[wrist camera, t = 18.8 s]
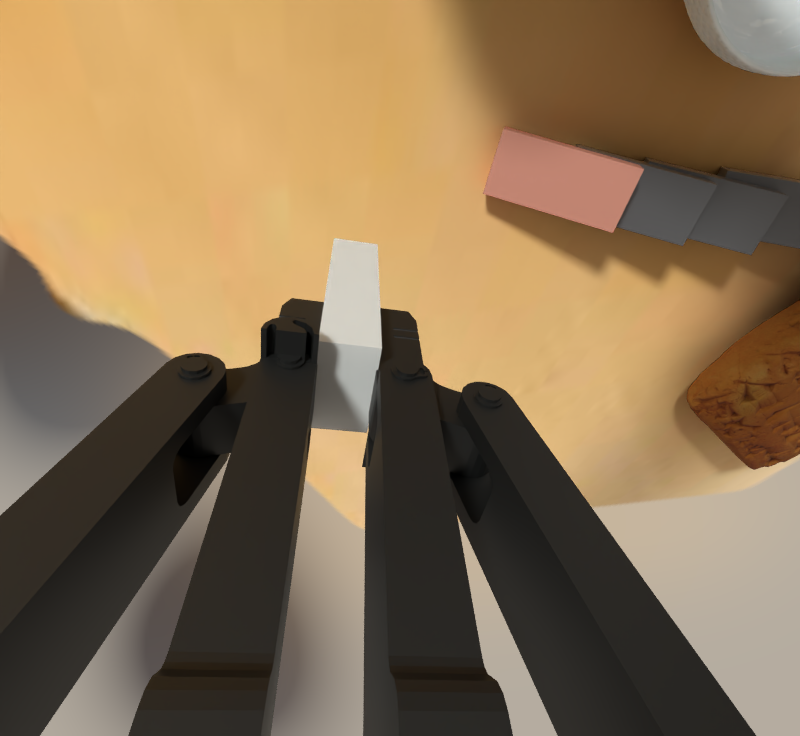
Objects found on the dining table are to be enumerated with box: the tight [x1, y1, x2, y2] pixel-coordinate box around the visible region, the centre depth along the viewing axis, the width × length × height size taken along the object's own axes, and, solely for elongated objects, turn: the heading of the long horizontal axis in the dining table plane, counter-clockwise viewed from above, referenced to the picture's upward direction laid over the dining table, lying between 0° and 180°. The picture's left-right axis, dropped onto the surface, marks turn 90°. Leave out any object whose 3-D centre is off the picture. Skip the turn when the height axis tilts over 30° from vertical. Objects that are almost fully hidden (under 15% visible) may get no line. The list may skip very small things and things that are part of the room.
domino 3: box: [644, 158, 789, 255], centre depth 41 cm, size 5×2×11 cm
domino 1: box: [483, 126, 644, 233], centre depth 39 cm, size 5×2×11 cm
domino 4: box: [718, 167, 800, 249], centre depth 41 cm, size 5×2×11 cm
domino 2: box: [576, 144, 717, 246], centre depth 40 cm, size 5×2×11 cm
